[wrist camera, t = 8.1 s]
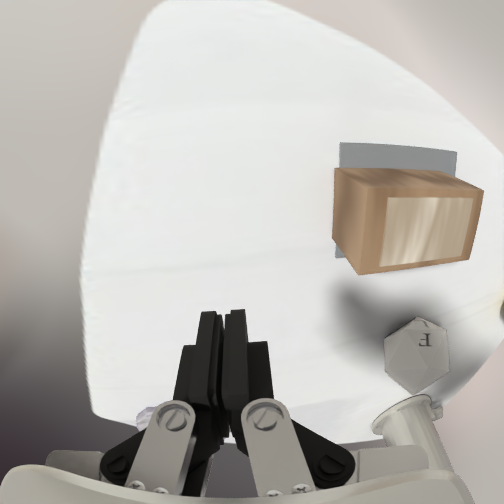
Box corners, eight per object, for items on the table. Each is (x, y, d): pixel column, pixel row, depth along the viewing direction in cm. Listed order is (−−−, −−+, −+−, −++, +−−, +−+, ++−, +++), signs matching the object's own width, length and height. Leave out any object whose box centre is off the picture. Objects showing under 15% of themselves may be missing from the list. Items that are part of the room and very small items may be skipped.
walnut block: (334, 167, 21) (440, 171, 21) (332, 238, 24) (432, 230, 24) (368, 188, 15) (485, 191, 16) (359, 276, 18) (470, 260, 18)
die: (439, 314, 31) (468, 326, 21) (428, 375, 30) (450, 403, 21) (383, 311, 33) (398, 325, 24) (373, 374, 33) (382, 405, 24)
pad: (455, 151, 20) (457, 152, 20) (441, 245, 25) (442, 246, 25) (339, 142, 20) (340, 142, 20) (335, 257, 25) (335, 258, 24)
